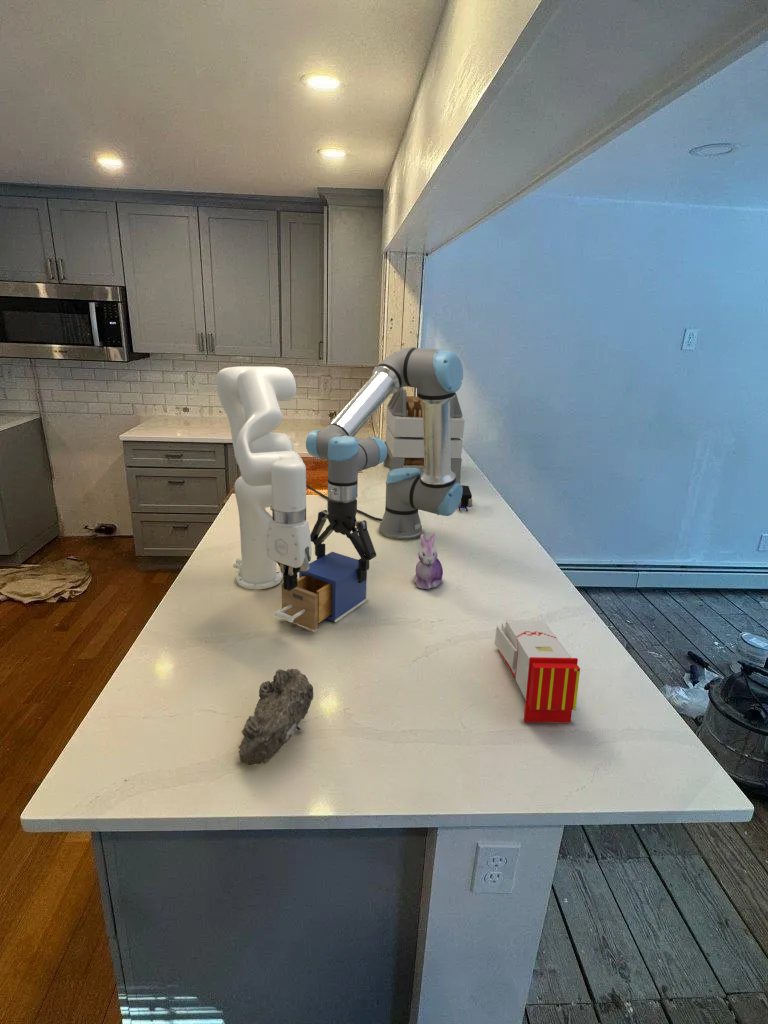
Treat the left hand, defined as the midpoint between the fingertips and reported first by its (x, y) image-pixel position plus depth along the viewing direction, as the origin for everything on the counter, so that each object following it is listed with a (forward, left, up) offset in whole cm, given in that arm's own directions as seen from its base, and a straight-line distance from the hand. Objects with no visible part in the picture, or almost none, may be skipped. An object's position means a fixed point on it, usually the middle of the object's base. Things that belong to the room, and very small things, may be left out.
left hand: (290, 587), depth 133 cm
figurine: (+16, +43, -12) cm, 47 cm away
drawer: (0, +6, -11) cm, 13 cm away
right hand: (+1, +20, -4) cm, 21 cm away
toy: (+54, +14, -12) cm, 57 cm away
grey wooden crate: (-39, +146, -12) cm, 152 cm away
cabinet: (+1, +17, -12) cm, 21 cm away
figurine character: (-2, +112, -12) cm, 112 cm away
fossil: (+19, -27, -12) cm, 35 cm away
